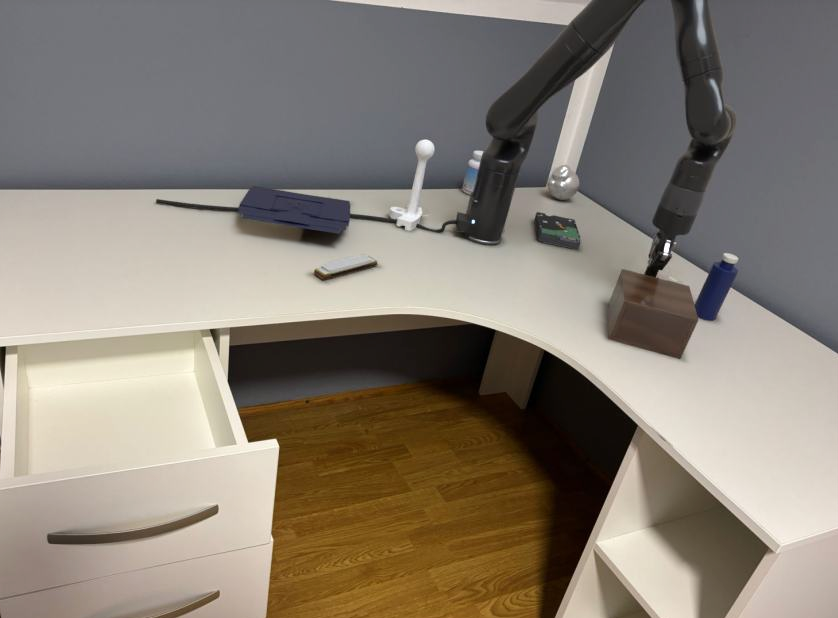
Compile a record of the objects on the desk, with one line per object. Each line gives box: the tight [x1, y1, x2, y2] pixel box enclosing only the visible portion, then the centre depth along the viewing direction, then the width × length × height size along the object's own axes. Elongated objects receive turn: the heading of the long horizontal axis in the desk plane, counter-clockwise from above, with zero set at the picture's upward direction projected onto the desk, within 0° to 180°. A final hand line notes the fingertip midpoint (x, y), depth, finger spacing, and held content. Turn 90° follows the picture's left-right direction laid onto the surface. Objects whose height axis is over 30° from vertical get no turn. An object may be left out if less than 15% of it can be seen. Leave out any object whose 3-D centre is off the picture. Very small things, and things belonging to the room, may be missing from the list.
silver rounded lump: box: [546, 164, 580, 201], centre depth 201 cm, size 9×10×10 cm
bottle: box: [694, 252, 739, 322], centre depth 148 cm, size 5×5×14 cm
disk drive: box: [533, 211, 581, 250], centre depth 177 cm, size 10×3×15 cm
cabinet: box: [607, 268, 699, 360], centre depth 138 cm, size 16×14×9 cm
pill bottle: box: [461, 150, 484, 195], centre depth 193 cm, size 6×6×11 cm
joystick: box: [388, 139, 436, 232], centre depth 164 cm, size 11×8×20 cm
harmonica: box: [313, 253, 378, 280], centre depth 140 cm, size 15×3×2 cm, turn 134°
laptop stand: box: [237, 185, 351, 235], centre depth 159 cm, size 24×30×4 cm
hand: (647, 282), depth 149 cm, fingers closed
